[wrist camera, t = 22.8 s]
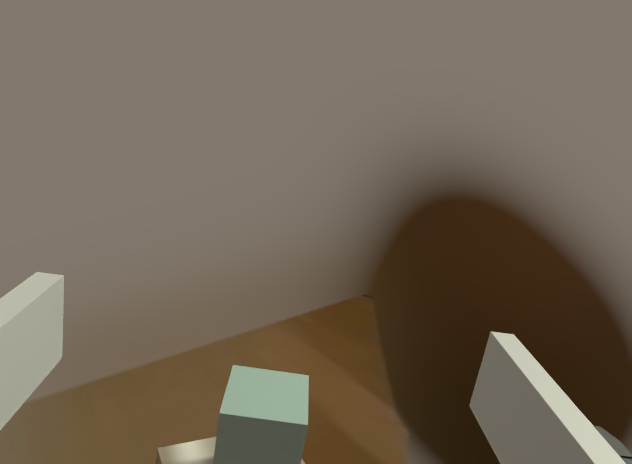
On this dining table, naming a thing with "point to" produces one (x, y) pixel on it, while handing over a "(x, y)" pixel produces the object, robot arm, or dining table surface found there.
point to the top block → (189, 453)
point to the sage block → (262, 418)
